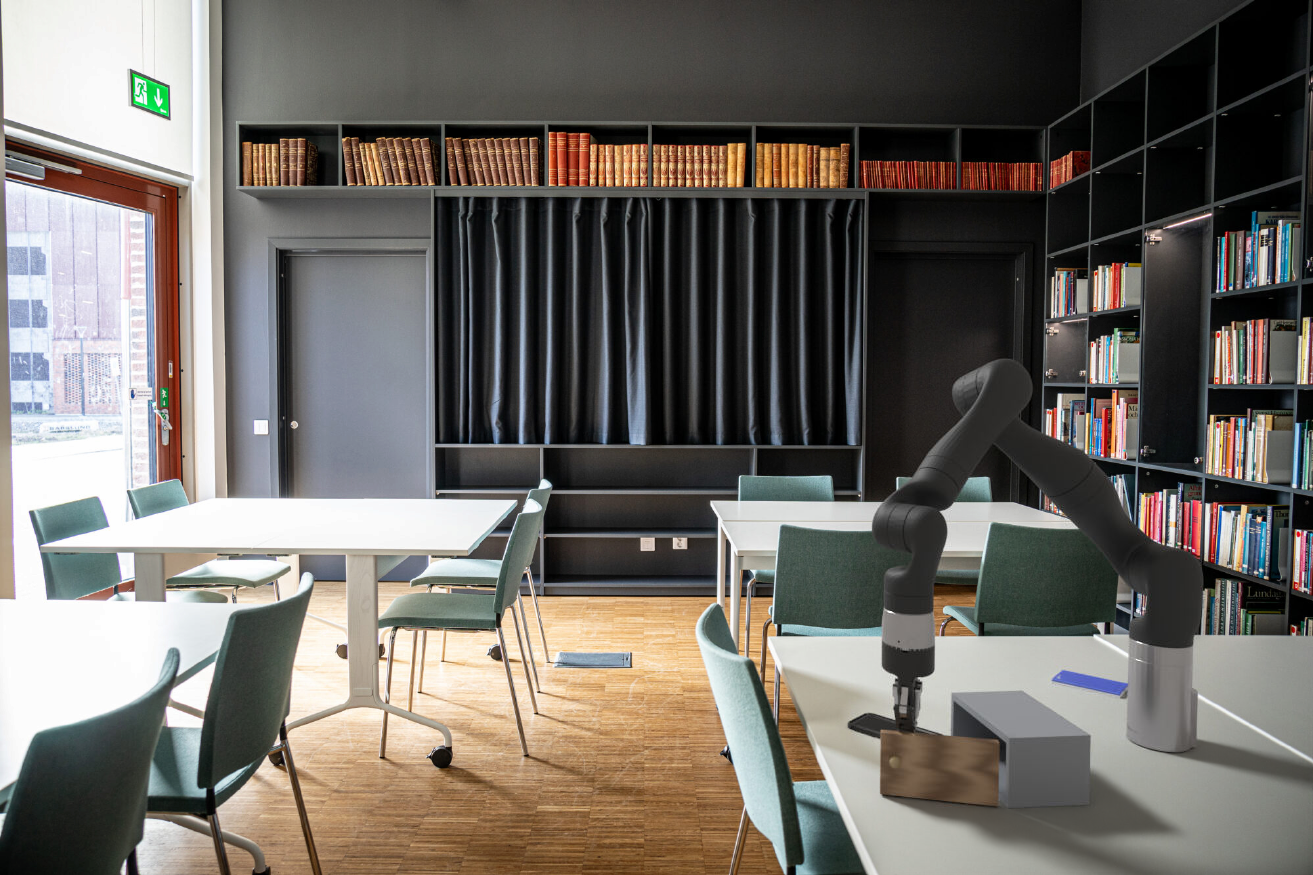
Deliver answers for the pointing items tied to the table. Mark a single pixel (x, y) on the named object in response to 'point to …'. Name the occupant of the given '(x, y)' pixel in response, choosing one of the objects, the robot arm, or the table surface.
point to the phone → (878, 725)
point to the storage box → (1027, 747)
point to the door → (939, 767)
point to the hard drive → (1090, 683)
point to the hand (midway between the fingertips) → (907, 752)
